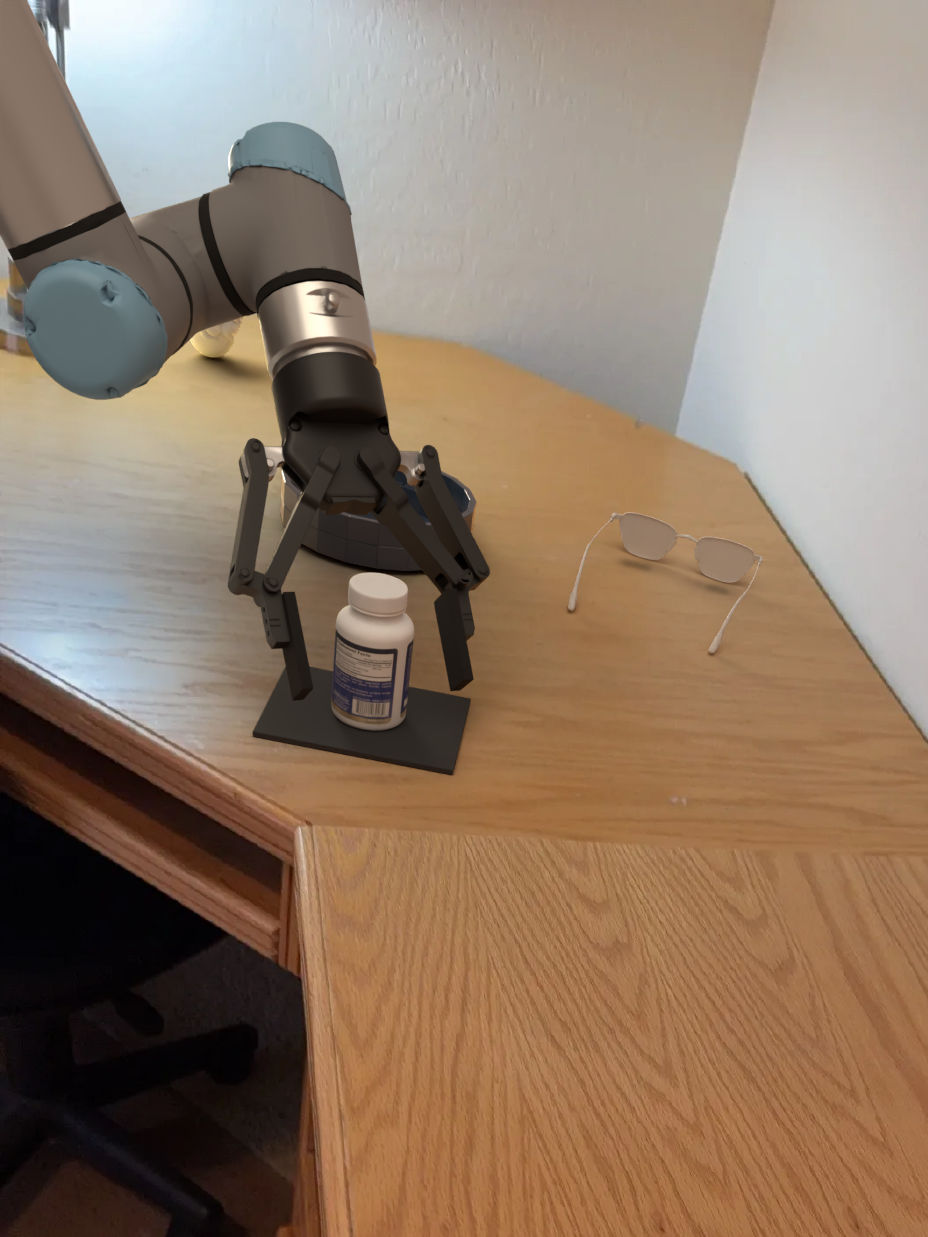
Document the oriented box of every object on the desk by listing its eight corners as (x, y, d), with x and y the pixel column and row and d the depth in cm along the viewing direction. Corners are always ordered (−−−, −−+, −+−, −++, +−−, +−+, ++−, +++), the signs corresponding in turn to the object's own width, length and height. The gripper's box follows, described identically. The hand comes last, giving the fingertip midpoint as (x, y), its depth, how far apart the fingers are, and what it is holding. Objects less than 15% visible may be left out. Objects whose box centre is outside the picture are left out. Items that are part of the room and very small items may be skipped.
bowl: (261, 550, 111) (262, 498, 108) (303, 484, 124) (305, 436, 121) (457, 591, 113) (463, 541, 110) (478, 522, 126) (484, 475, 123)
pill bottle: (366, 688, 96) (376, 561, 89) (420, 718, 94) (435, 591, 88) (314, 709, 92) (322, 577, 86) (369, 740, 90) (382, 609, 84)
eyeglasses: (754, 590, 126) (766, 550, 124) (722, 659, 113) (734, 616, 110) (606, 546, 127) (615, 505, 125) (557, 609, 114) (565, 565, 111)
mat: (252, 736, 88) (252, 731, 88) (287, 666, 97) (287, 661, 96) (452, 775, 90) (453, 770, 90) (470, 703, 98) (471, 698, 98)
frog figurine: (254, 362, 149) (255, 295, 144) (205, 367, 144) (205, 298, 139) (219, 345, 151) (219, 279, 146) (170, 349, 146) (169, 281, 142)
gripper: (159, 332, 80) (227, 682, 80) (499, 357, 90) (556, 665, 91) (141, 393, 86) (204, 715, 87) (460, 409, 97) (514, 696, 98)
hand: (384, 690), depth 89 cm, fingers open, 11 cm apart
